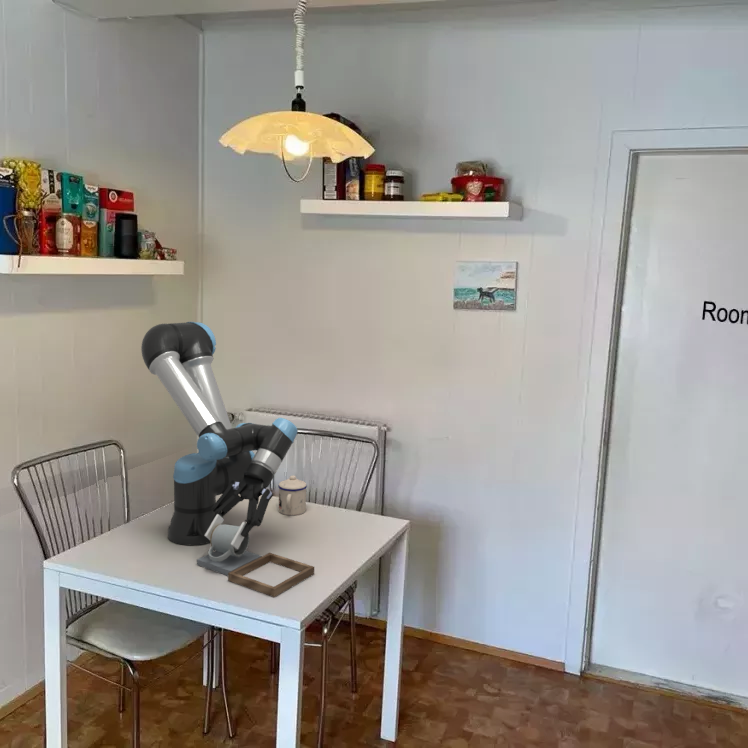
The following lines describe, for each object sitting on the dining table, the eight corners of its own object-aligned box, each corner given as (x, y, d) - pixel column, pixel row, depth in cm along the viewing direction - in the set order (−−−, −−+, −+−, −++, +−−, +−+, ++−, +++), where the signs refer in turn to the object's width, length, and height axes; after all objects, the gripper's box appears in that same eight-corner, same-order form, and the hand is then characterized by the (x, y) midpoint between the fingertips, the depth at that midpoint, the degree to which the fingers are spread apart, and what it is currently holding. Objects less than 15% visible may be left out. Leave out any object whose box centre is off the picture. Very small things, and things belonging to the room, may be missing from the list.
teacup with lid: (280, 505, 239) (281, 471, 237) (308, 507, 238) (309, 472, 236) (273, 518, 227) (273, 482, 225) (302, 520, 226) (302, 484, 224)
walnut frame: (228, 580, 183) (228, 573, 182) (269, 559, 196) (269, 552, 196) (274, 597, 175) (274, 589, 175) (314, 574, 188) (314, 566, 188)
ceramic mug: (224, 544, 198) (224, 517, 196) (250, 550, 194) (250, 523, 193) (200, 559, 188) (200, 531, 187) (227, 566, 185) (226, 537, 184)
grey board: (196, 564, 191) (196, 559, 191) (228, 550, 201) (228, 545, 201) (230, 576, 185) (230, 571, 185) (261, 561, 195) (261, 555, 195)
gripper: (298, 483, 197) (258, 558, 186) (239, 469, 208) (198, 539, 198) (286, 469, 192) (245, 545, 181) (227, 455, 203) (184, 526, 192)
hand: (221, 542), depth 189 cm, fingers closed on ceramic mug, 8 cm apart
